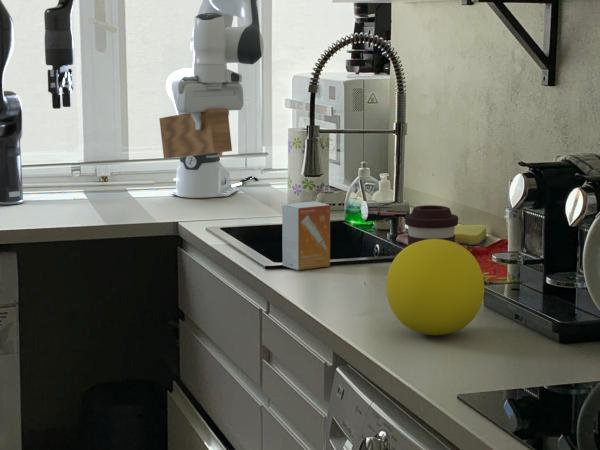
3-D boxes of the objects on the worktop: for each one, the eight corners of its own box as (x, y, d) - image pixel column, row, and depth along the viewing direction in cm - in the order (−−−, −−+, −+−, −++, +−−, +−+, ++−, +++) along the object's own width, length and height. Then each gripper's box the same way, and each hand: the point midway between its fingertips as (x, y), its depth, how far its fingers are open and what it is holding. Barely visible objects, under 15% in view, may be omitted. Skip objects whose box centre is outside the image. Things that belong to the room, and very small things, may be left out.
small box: (298, 271, 212) (298, 207, 210) (281, 266, 217) (281, 204, 215) (331, 266, 217) (330, 204, 214) (314, 261, 222) (313, 200, 220)
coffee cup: (400, 280, 202) (400, 204, 200) (450, 279, 203) (451, 203, 201) (409, 292, 193) (410, 212, 190) (462, 291, 193) (463, 211, 191)
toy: (452, 317, 175) (453, 228, 172) (500, 340, 161) (502, 244, 158) (370, 326, 170) (371, 235, 167) (413, 350, 156) (414, 252, 153)
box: (163, 158, 288) (159, 117, 287) (181, 157, 292) (177, 116, 291) (214, 152, 272) (209, 109, 271) (232, 150, 276) (227, 108, 275)
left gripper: (64, 47, 275) (67, 109, 277) (80, 47, 289) (83, 106, 291) (36, 47, 275) (39, 109, 278) (54, 47, 289) (57, 106, 292)
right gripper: (186, 76, 265) (187, 131, 267) (246, 75, 279) (247, 127, 281) (170, 76, 269) (172, 130, 272) (231, 75, 283) (232, 126, 286)
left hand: (62, 107), depth 285 cm, fingers open, 8 cm apart
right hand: (210, 128), depth 276 cm, fingers closed on box, 6 cm apart
